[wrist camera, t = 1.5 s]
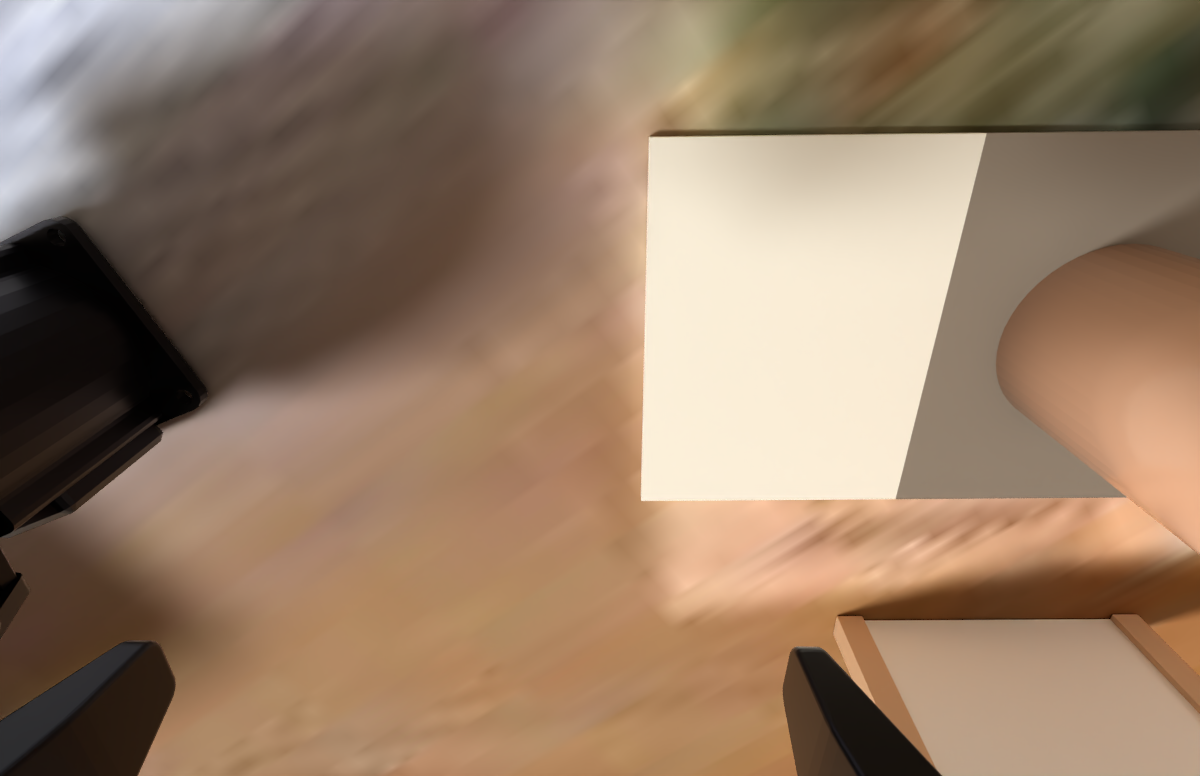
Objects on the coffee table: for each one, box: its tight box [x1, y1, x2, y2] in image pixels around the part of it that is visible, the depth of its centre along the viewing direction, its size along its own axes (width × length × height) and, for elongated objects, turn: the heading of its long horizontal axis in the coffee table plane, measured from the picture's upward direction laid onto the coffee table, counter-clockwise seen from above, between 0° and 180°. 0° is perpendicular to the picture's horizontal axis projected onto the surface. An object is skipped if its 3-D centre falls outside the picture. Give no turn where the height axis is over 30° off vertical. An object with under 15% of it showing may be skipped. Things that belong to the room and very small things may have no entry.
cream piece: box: [641, 130, 1200, 776], centre depth 17 cm, size 21×19×9 cm
